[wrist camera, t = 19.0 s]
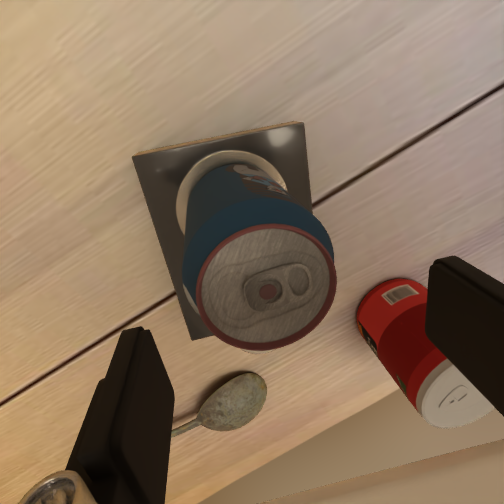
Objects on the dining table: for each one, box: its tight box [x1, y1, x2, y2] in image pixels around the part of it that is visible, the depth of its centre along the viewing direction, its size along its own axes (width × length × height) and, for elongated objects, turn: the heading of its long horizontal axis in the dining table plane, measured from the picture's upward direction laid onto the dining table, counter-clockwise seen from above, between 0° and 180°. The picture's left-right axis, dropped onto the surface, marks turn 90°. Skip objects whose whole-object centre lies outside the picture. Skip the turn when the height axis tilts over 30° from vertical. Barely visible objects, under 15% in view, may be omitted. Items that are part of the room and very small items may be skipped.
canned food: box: [357, 279, 495, 428], centre depth 28 cm, size 8×8×11 cm
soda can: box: [182, 164, 337, 351], centre depth 18 cm, size 7×7×12 cm
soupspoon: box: [171, 373, 267, 438], centre depth 34 cm, size 22×3×7 cm
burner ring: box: [176, 150, 288, 236], centre depth 24 cm, size 8×8×1 cm
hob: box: [132, 121, 313, 341], centre depth 26 cm, size 17×12×3 cm
